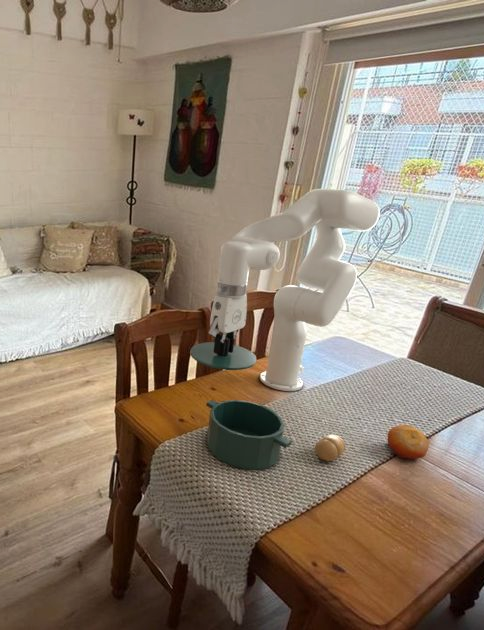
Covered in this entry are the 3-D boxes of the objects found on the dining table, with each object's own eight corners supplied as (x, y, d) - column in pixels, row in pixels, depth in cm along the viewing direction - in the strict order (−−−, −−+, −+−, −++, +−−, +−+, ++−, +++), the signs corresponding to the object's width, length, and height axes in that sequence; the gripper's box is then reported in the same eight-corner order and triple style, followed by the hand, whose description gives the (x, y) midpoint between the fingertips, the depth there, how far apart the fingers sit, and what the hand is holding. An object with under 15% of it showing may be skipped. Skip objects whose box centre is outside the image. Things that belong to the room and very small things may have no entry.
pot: (226, 417, 121) (229, 389, 118) (303, 458, 104) (309, 427, 101) (185, 437, 112) (187, 408, 109) (262, 486, 95) (267, 453, 92)
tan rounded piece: (326, 445, 109) (329, 428, 107) (347, 455, 105) (351, 438, 103) (309, 457, 104) (312, 439, 103) (330, 468, 101) (334, 450, 99)
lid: (216, 341, 134) (219, 322, 132) (269, 361, 121) (272, 340, 119) (176, 354, 124) (178, 334, 122) (228, 378, 111) (231, 355, 109)
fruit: (407, 435, 111) (425, 421, 105) (420, 466, 106) (439, 453, 99) (374, 433, 111) (389, 419, 105) (384, 464, 106) (401, 450, 100)
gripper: (223, 297, 109) (215, 364, 115) (261, 287, 118) (252, 350, 124) (199, 290, 114) (192, 354, 120) (238, 281, 124) (230, 342, 129)
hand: (223, 352), depth 122 cm, fingers closed on lid, 3 cm apart
